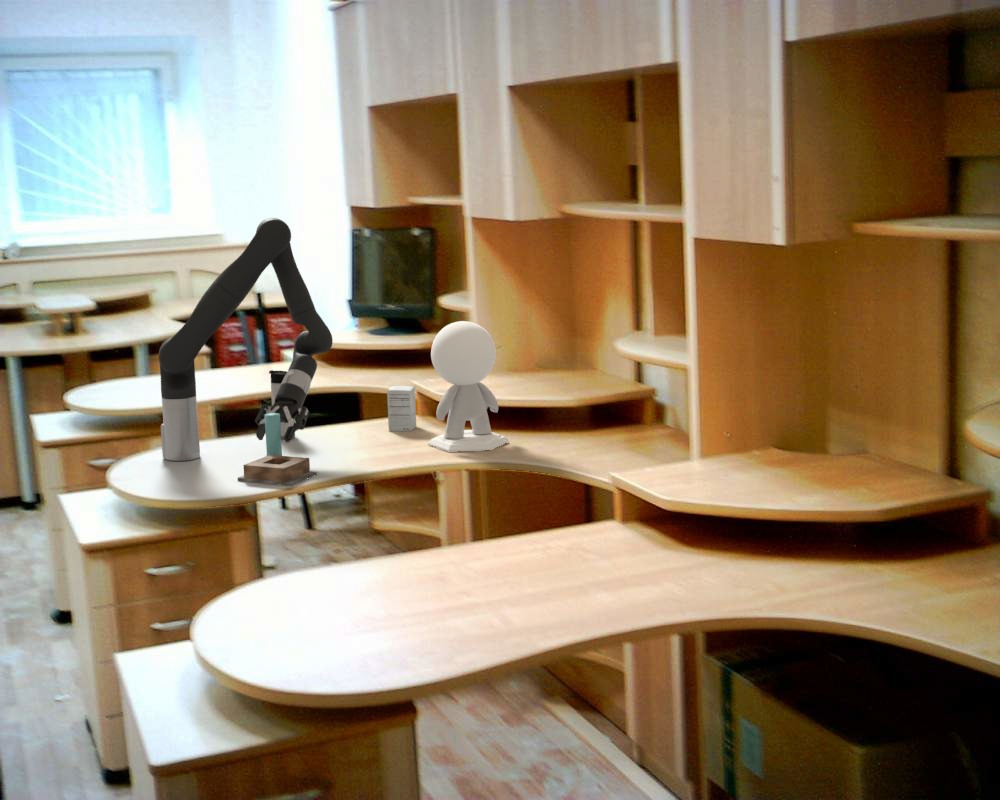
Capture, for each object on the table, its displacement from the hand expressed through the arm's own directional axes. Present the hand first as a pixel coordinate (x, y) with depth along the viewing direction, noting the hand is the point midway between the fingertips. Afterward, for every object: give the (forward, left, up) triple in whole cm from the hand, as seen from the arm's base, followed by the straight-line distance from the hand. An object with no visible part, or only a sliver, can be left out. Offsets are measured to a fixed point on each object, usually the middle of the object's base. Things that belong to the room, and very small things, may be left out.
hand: (272, 439), depth 333 cm
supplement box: (+10, +55, -8) cm, 56 cm away
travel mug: (-18, +33, -8) cm, 38 cm away
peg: (0, +1, -7) cm, 7 cm away
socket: (+8, -10, -7) cm, 15 cm away
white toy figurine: (+38, +42, -8) cm, 57 cm away
